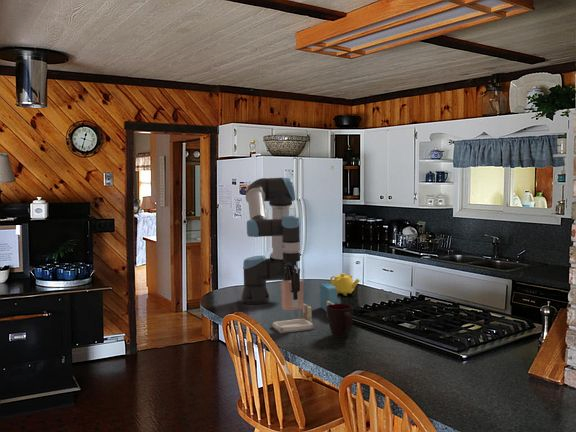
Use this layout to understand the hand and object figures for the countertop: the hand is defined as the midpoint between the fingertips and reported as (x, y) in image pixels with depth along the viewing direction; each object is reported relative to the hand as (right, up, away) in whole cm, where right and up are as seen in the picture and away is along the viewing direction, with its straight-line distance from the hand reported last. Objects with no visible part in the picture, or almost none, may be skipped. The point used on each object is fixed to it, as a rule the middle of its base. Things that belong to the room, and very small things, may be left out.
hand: (292, 305), depth 246 cm
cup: (+20, -11, -13) cm, 26 cm away
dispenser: (+12, -9, +14) cm, 21 cm away
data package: (+18, -7, +31) cm, 37 cm away
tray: (0, -10, +1) cm, 10 cm away
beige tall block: (0, -1, 0) cm, 1 cm away
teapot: (+29, -4, +66) cm, 72 cm away
